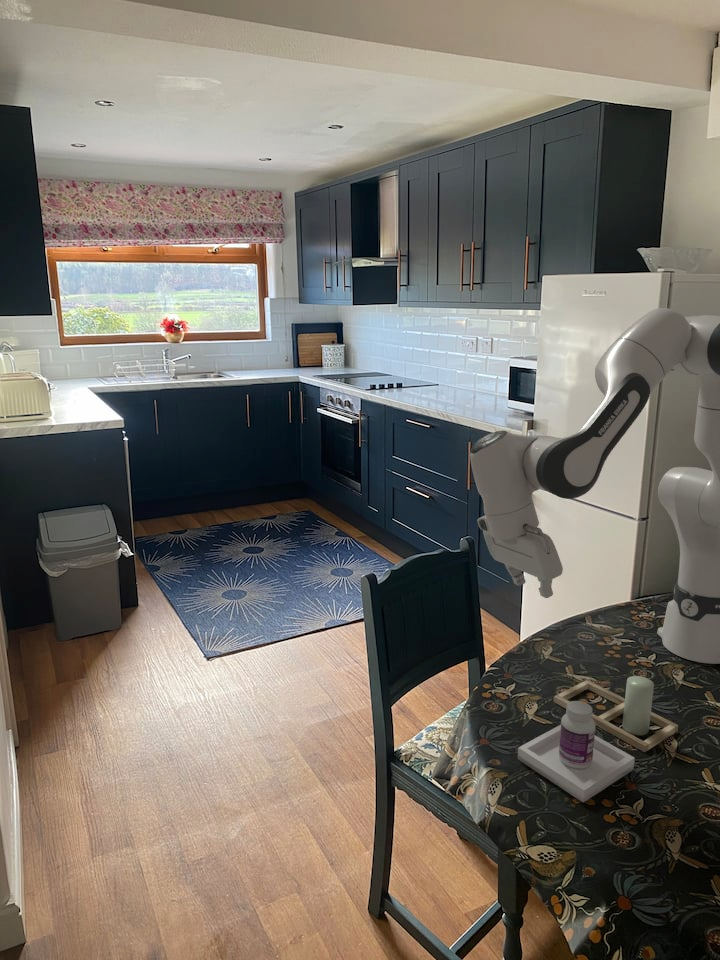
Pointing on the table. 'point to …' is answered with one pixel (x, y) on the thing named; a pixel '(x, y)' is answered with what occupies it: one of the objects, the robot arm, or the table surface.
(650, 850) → the table surface
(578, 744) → the pill bottle
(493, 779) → the table surface
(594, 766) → the grey tray
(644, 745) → the light wood flat frame
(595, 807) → the table surface
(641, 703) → the sage vial
